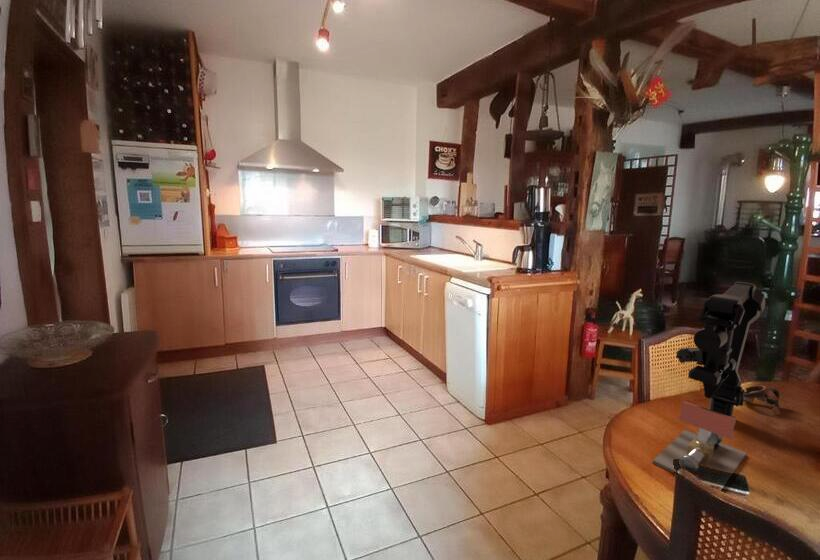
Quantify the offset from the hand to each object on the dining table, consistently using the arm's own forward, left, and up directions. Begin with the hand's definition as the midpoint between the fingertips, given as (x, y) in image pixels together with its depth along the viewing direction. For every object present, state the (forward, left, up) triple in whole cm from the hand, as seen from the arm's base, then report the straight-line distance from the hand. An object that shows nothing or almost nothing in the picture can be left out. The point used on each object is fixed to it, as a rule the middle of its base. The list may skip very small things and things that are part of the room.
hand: (708, 397), depth 113 cm
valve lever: (+13, +3, -7) cm, 15 cm away
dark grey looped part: (-36, +7, -12) cm, 39 cm away
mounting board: (+13, +3, -12) cm, 18 cm away
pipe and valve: (+12, +3, -11) cm, 17 cm away
